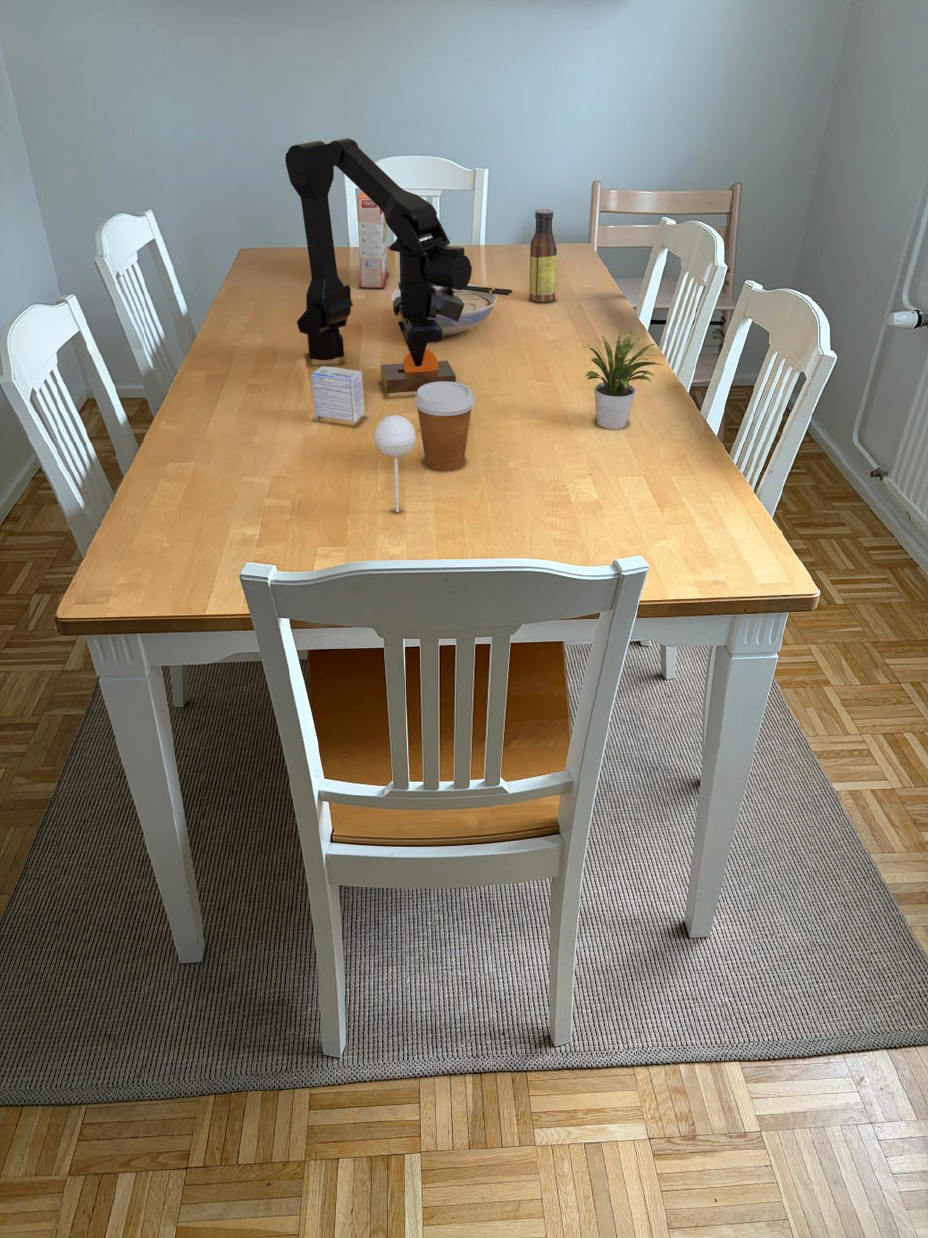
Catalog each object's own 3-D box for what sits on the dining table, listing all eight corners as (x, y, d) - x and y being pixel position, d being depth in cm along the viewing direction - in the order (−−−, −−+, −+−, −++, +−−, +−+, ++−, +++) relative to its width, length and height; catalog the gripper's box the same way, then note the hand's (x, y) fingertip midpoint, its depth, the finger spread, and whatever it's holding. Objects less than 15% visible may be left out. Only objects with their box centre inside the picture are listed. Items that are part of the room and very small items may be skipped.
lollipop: (377, 501, 144) (373, 408, 135) (416, 500, 144) (414, 407, 136) (377, 522, 139) (373, 426, 130) (418, 520, 139) (416, 425, 131)
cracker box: (384, 288, 232) (381, 196, 220) (359, 288, 232) (355, 196, 220) (389, 272, 243) (386, 184, 231) (365, 272, 243) (361, 184, 231)
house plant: (595, 448, 160) (605, 353, 151) (552, 417, 170) (558, 327, 160) (664, 432, 165) (677, 340, 156) (618, 404, 175) (628, 315, 166)
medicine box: (365, 417, 169) (363, 370, 164) (355, 427, 166) (352, 379, 161) (325, 411, 171) (321, 364, 166) (314, 420, 168) (310, 373, 163)
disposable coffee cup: (453, 480, 150) (453, 408, 143) (403, 465, 154) (401, 394, 147) (484, 458, 156) (486, 388, 150) (436, 444, 161) (435, 375, 154)
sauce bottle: (559, 298, 227) (565, 209, 216) (547, 305, 223) (552, 215, 211) (535, 293, 230) (540, 206, 218) (523, 300, 226) (526, 211, 214)
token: (401, 381, 179) (407, 347, 175) (400, 379, 180) (406, 345, 176) (435, 385, 181) (441, 351, 177) (434, 382, 182) (439, 349, 178)
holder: (387, 398, 177) (386, 380, 175) (381, 382, 183) (380, 364, 181) (455, 393, 179) (455, 375, 177) (447, 377, 185) (447, 360, 183)
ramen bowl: (369, 339, 203) (367, 300, 198) (413, 308, 220) (413, 272, 215) (478, 355, 195) (479, 316, 190) (515, 322, 212) (517, 285, 208)
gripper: (471, 292, 163) (470, 379, 172) (450, 262, 178) (450, 344, 187) (407, 295, 161) (409, 384, 170) (391, 265, 176) (394, 348, 185)
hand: (417, 364), depth 178 cm, fingers closed on token, 1 cm apart
